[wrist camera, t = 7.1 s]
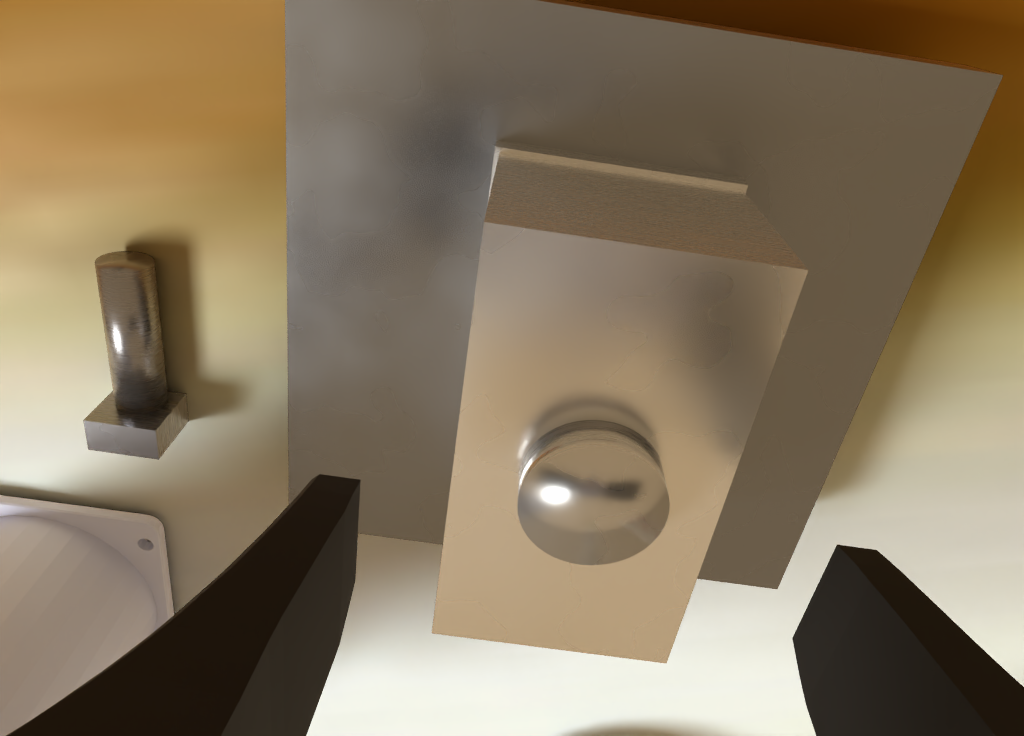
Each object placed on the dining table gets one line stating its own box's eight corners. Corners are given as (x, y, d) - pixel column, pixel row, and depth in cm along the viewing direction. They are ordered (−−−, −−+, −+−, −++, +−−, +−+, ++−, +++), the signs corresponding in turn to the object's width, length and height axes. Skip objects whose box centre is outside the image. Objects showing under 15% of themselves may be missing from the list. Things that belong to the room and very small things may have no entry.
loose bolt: (188, 420, 23) (158, 459, 21) (123, 411, 23) (88, 449, 21) (174, 257, 20) (139, 286, 19) (100, 246, 20) (58, 274, 19)
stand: (751, 519, 24) (777, 589, 21) (317, 460, 24) (289, 524, 21) (933, 55, 17) (1003, 75, 15) (325, -42, 17) (285, -40, 14)
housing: (740, 177, 16) (835, 285, 11) (642, 512, 20) (675, 700, 15) (496, 140, 16) (474, 231, 10) (452, 486, 20) (420, 667, 15)
